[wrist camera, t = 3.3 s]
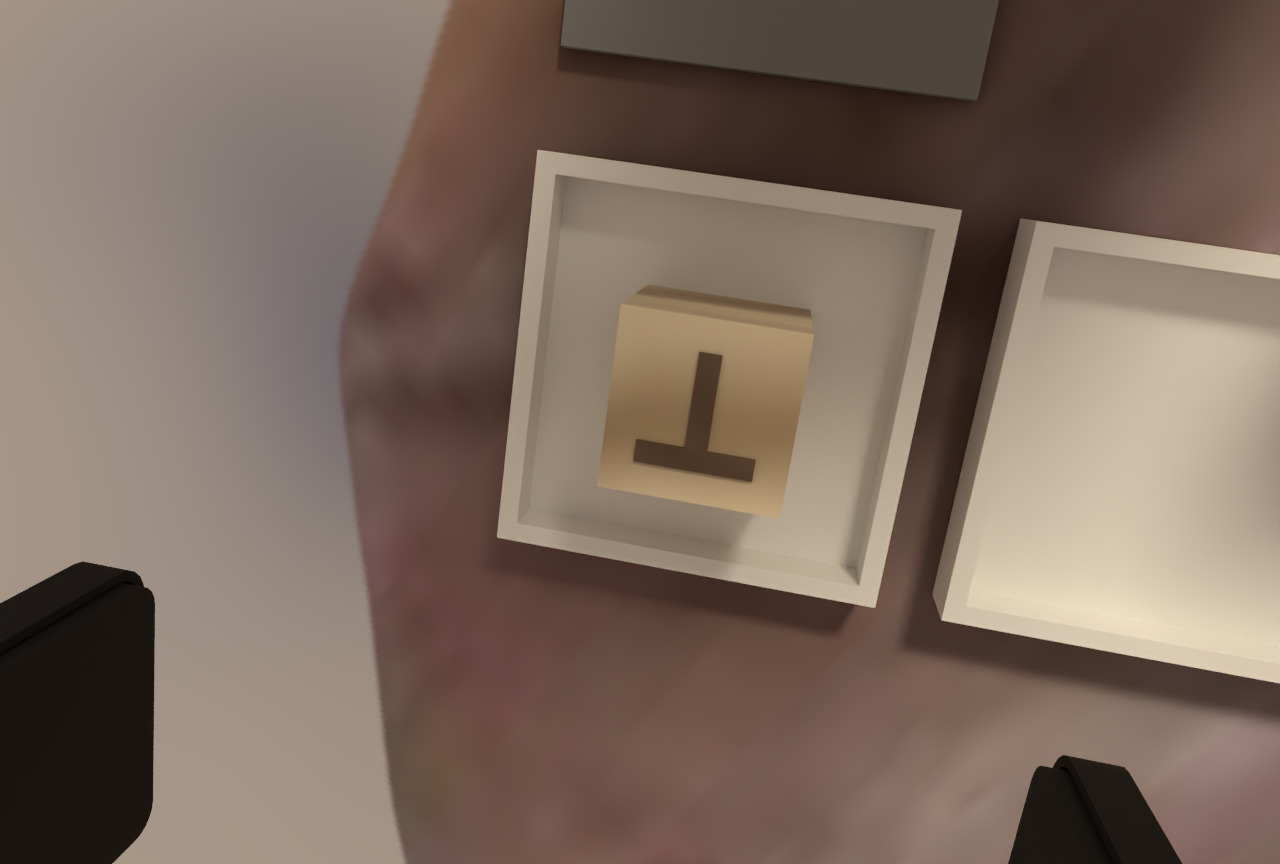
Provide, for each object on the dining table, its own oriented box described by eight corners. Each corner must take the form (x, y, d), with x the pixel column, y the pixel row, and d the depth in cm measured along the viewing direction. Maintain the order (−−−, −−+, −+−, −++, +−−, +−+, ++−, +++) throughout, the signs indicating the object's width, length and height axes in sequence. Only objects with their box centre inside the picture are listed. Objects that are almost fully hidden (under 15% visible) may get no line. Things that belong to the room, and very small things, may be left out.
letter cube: (647, 284, 30) (620, 304, 25) (810, 309, 30) (814, 335, 25) (625, 442, 32) (595, 490, 27) (781, 469, 31) (779, 523, 26)
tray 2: (1020, 218, 29) (1036, 221, 27) (1460, 281, 27) (1510, 288, 26) (932, 593, 32) (941, 620, 30) (1322, 665, 31) (1359, 698, 29)
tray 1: (553, 151, 30) (537, 149, 28) (950, 208, 29) (962, 210, 27) (513, 517, 33) (496, 537, 31) (870, 582, 32) (875, 608, 30)
